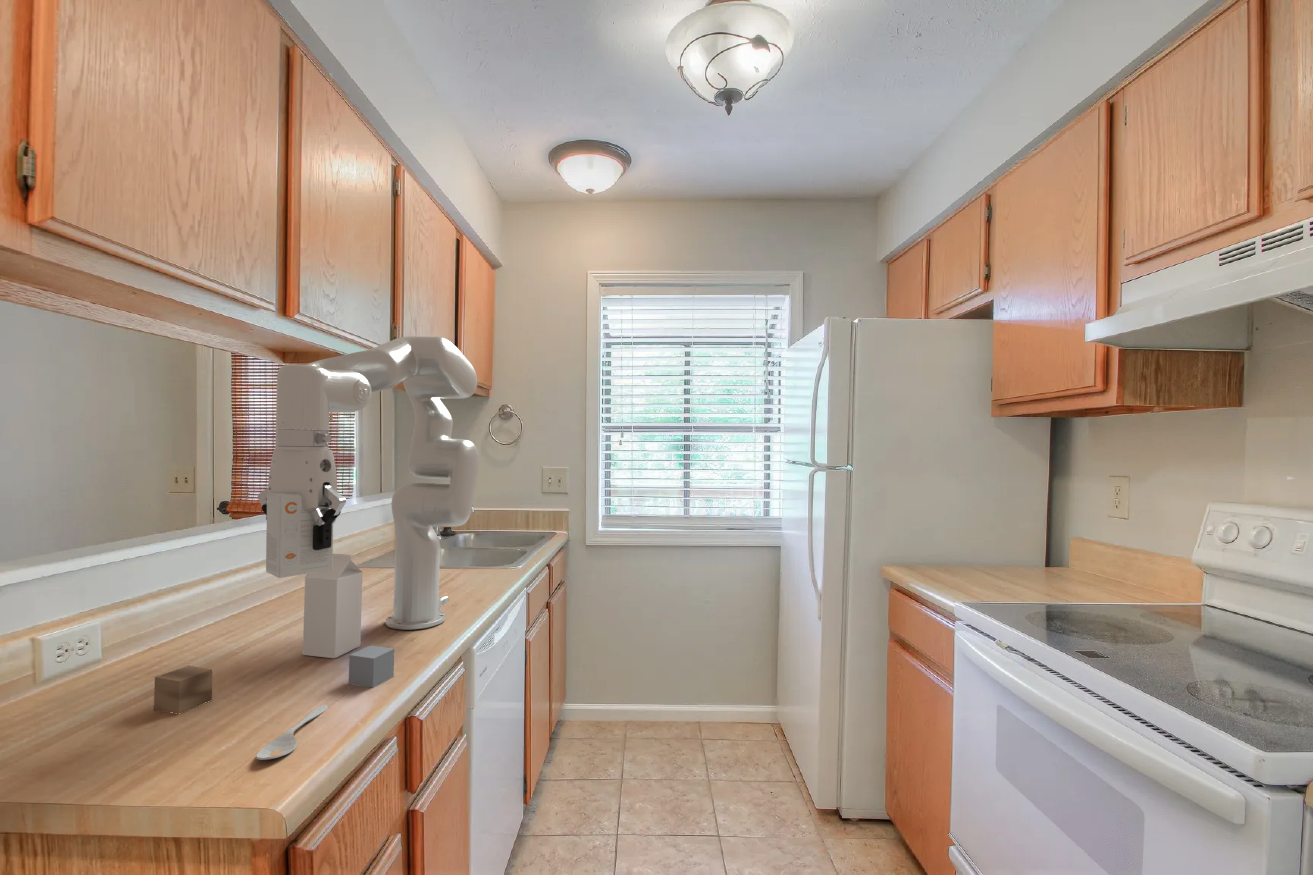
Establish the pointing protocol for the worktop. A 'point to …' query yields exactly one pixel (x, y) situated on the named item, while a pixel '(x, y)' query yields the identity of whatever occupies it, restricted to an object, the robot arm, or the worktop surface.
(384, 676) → the slate block
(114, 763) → the worktop surface
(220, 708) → the worktop surface
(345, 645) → the milk carton
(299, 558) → the small box
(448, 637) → the worktop surface
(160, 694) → the walnut block
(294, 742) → the spoon
